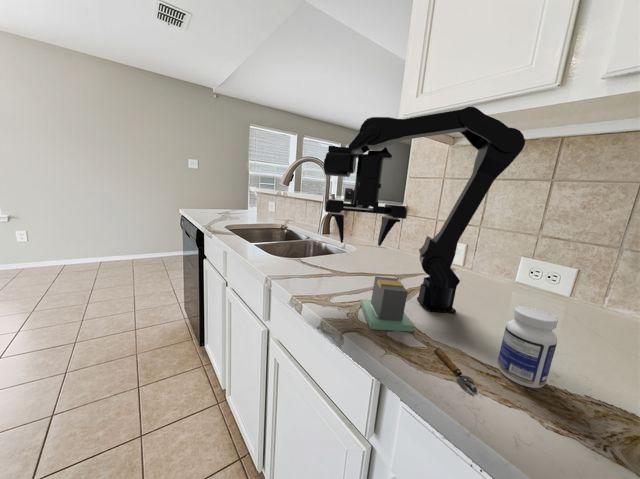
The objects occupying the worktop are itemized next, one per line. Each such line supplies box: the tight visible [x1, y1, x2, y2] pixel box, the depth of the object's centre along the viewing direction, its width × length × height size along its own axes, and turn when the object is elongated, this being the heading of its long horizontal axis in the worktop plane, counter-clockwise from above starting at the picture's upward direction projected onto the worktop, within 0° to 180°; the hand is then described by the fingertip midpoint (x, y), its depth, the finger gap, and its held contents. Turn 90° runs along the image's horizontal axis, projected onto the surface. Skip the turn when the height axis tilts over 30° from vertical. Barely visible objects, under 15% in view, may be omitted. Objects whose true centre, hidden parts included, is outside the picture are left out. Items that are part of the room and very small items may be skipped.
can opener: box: [434, 347, 478, 397], centre depth 37 cm, size 9×2×1 cm, turn 2°
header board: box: [360, 299, 415, 333], centre depth 51 cm, size 10×8×4 cm
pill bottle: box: [496, 305, 559, 389], centre depth 36 cm, size 6×6×10 cm
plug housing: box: [371, 276, 409, 321], centre depth 50 cm, size 7×4×6 cm, turn 2°
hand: (360, 244), depth 62 cm, fingers open, 9 cm apart
